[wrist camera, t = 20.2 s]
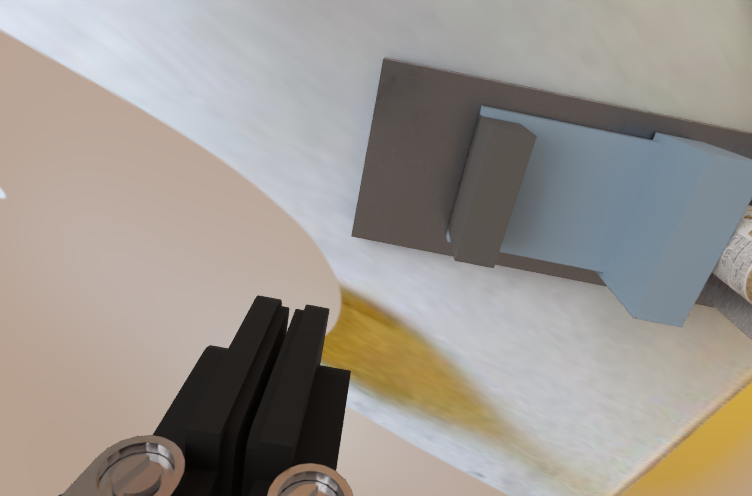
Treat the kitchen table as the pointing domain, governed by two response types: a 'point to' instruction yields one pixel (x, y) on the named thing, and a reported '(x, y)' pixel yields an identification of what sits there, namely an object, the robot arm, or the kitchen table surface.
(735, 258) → the spice jar
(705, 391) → the kitchen table surface
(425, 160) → the clamp base
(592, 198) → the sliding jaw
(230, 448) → the robot arm
